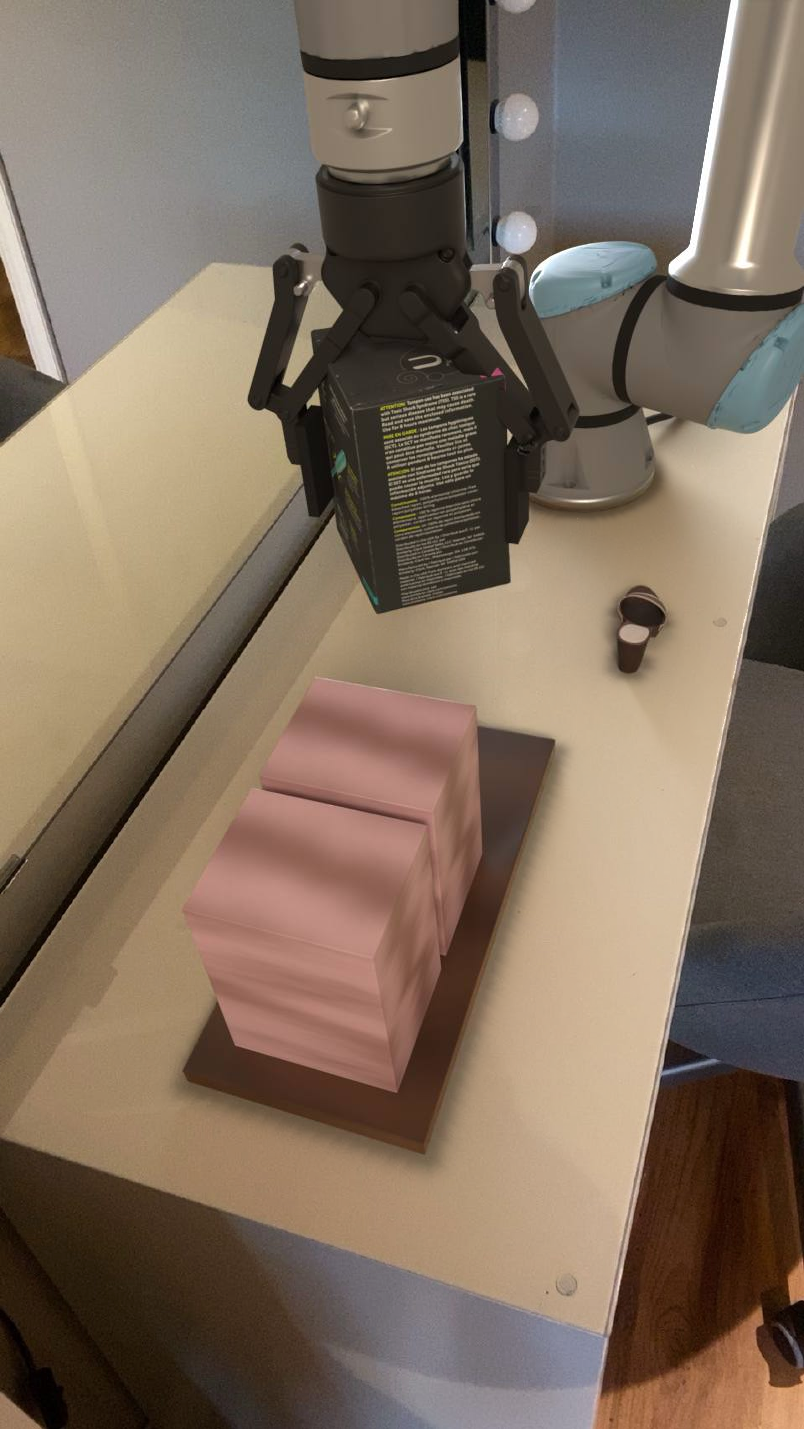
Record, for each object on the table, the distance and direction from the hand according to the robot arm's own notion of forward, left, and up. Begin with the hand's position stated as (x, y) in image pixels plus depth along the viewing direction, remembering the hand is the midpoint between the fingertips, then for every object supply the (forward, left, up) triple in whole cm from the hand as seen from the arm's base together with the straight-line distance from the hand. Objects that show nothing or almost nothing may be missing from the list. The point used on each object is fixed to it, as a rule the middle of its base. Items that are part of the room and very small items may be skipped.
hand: (417, 518), depth 67 cm
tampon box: (0, -1, -4) cm, 4 cm away
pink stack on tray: (+8, +9, -24) cm, 27 cm away
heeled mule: (-23, -5, -24) cm, 34 cm away
